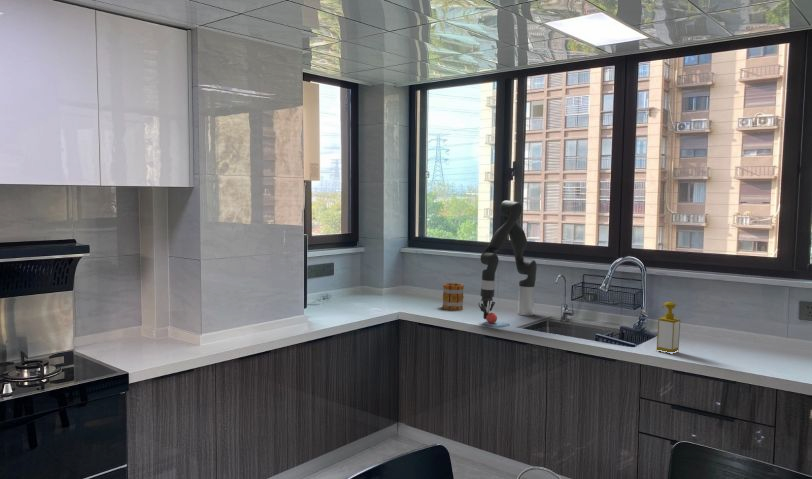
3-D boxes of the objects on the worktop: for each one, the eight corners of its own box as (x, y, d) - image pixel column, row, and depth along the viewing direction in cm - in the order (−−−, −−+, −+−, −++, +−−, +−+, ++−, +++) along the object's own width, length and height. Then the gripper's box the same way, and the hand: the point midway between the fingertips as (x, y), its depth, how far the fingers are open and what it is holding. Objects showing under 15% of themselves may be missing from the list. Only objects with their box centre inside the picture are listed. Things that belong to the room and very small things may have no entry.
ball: (491, 310, 340) (499, 313, 335) (490, 320, 341) (498, 323, 337) (484, 312, 336) (492, 316, 332) (483, 322, 338) (491, 326, 333)
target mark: (493, 320, 345) (493, 320, 345) (514, 324, 335) (514, 324, 335) (478, 323, 335) (478, 323, 335) (499, 327, 325) (499, 327, 325)
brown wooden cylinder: (459, 311, 371) (460, 286, 369) (438, 309, 376) (439, 285, 375) (468, 306, 389) (469, 283, 388) (448, 304, 394) (449, 281, 393)
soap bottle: (651, 353, 279) (654, 302, 278) (662, 349, 288) (665, 300, 287) (667, 356, 274) (670, 305, 273) (678, 352, 283) (681, 302, 282)
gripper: (485, 290, 331) (484, 321, 332) (500, 288, 340) (498, 318, 342) (475, 288, 336) (473, 319, 337) (489, 286, 346) (487, 316, 347)
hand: (485, 318), depth 339 cm, fingers closed
